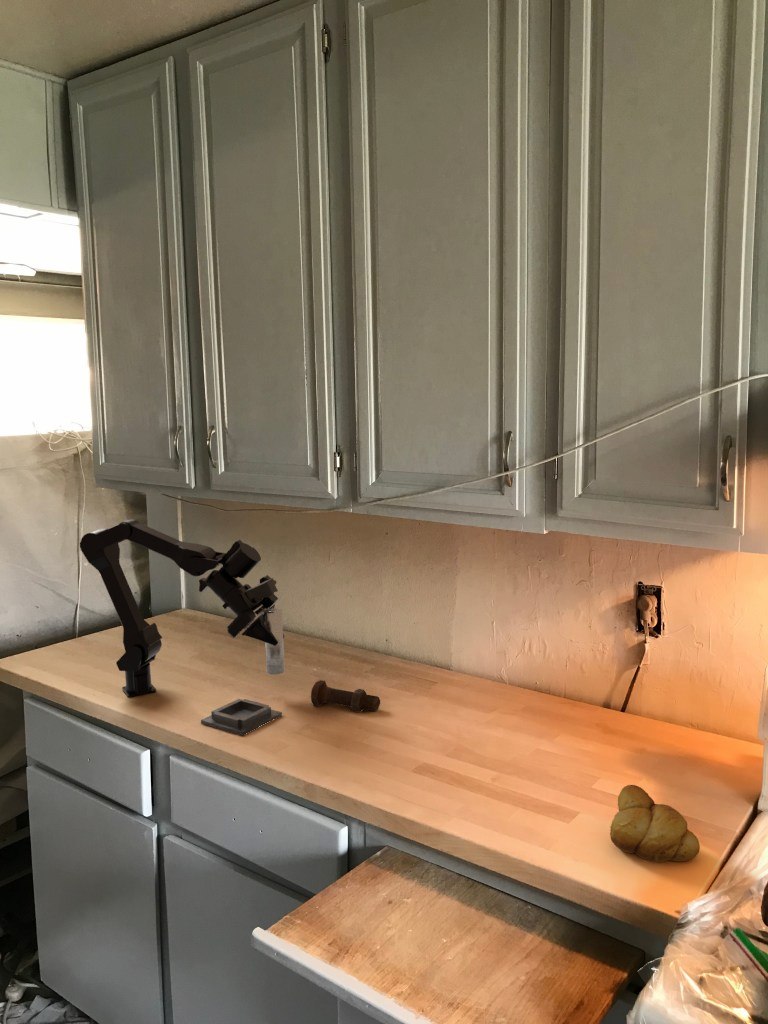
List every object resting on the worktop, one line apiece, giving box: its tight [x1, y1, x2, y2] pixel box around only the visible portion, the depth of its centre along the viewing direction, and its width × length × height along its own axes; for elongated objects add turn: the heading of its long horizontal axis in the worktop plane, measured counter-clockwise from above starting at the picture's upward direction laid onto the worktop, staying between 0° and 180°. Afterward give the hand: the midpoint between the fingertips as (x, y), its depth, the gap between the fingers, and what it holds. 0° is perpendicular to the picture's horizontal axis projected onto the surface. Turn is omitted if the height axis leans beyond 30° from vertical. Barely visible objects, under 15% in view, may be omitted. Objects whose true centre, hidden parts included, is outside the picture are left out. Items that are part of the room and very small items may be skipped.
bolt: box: [310, 679, 381, 713], centre depth 182 cm, size 6×5×15 cm
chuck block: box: [200, 698, 283, 737], centre depth 177 cm, size 12×12×2 cm
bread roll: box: [609, 784, 701, 863], centre depth 123 cm, size 13×10×8 cm
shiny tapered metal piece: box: [264, 608, 285, 675], centre depth 187 cm, size 4×4×14 cm
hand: (280, 641), depth 186 cm, fingers closed on shiny tapered metal piece, 4 cm apart
